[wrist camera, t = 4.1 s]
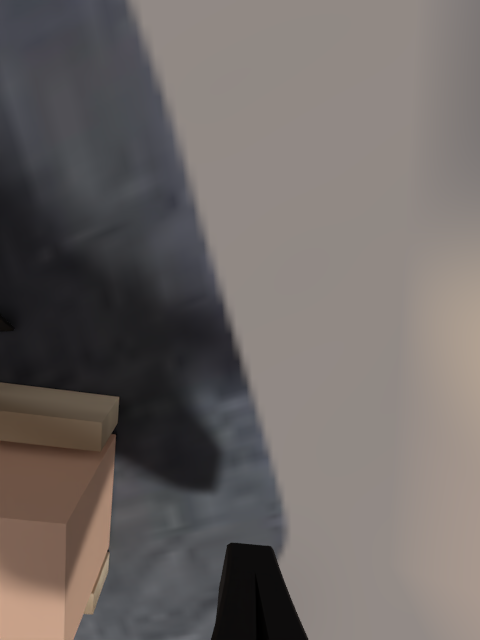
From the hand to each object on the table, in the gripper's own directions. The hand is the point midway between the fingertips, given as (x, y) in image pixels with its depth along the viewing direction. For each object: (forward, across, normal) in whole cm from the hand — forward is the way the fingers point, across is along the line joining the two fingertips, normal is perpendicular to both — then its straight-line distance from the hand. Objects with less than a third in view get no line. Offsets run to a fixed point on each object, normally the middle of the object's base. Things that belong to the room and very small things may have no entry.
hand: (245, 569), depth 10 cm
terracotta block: (+2, +7, 0) cm, 8 cm away
